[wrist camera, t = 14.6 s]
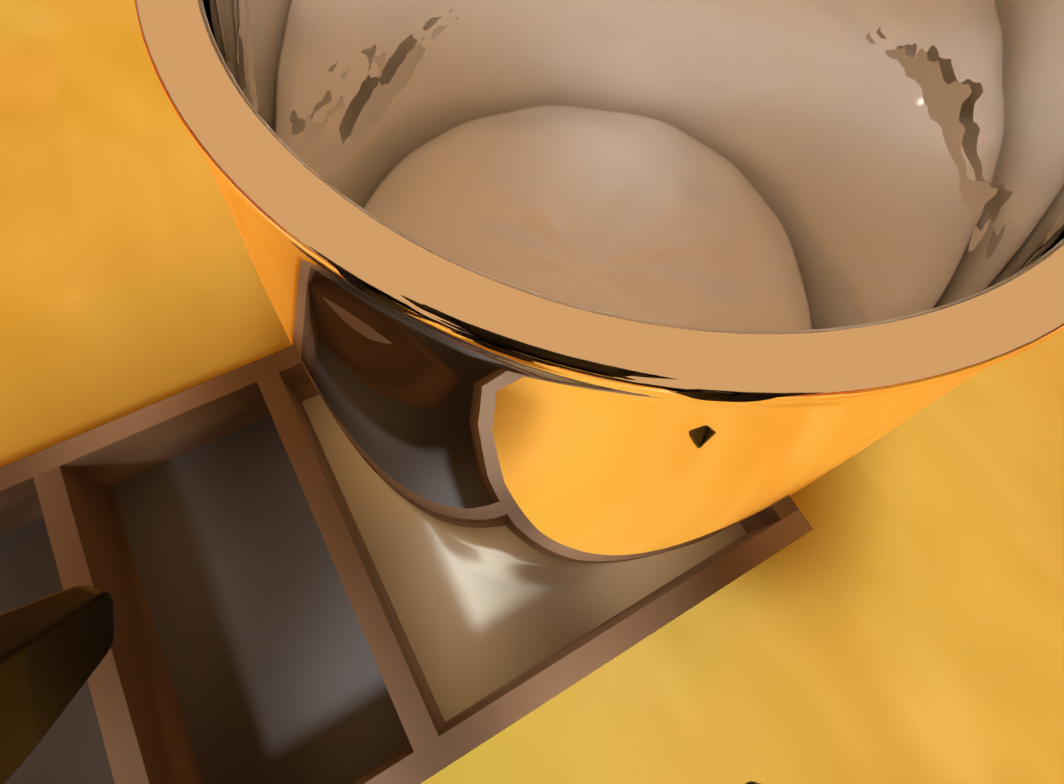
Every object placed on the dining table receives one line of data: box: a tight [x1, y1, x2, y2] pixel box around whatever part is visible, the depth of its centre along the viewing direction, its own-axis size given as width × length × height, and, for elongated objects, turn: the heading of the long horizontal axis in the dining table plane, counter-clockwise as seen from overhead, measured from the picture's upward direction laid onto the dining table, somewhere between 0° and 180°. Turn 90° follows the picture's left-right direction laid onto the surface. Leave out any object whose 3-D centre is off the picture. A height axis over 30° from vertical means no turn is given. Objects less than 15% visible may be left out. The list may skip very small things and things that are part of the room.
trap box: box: [0, 346, 812, 784], centre depth 15 cm, size 22×11×2 cm, turn 119°
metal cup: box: [134, 0, 1064, 588], centre depth 11 cm, size 7×7×15 cm
